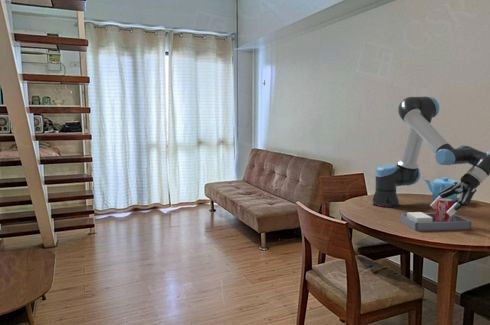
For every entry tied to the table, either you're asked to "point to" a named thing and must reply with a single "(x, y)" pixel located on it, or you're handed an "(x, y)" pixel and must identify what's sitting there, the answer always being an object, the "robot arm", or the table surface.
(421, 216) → the cream rectangular box
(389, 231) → the table surface
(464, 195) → the robot arm
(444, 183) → the teakettle
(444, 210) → the soda can
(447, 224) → the tote
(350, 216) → the table surface
